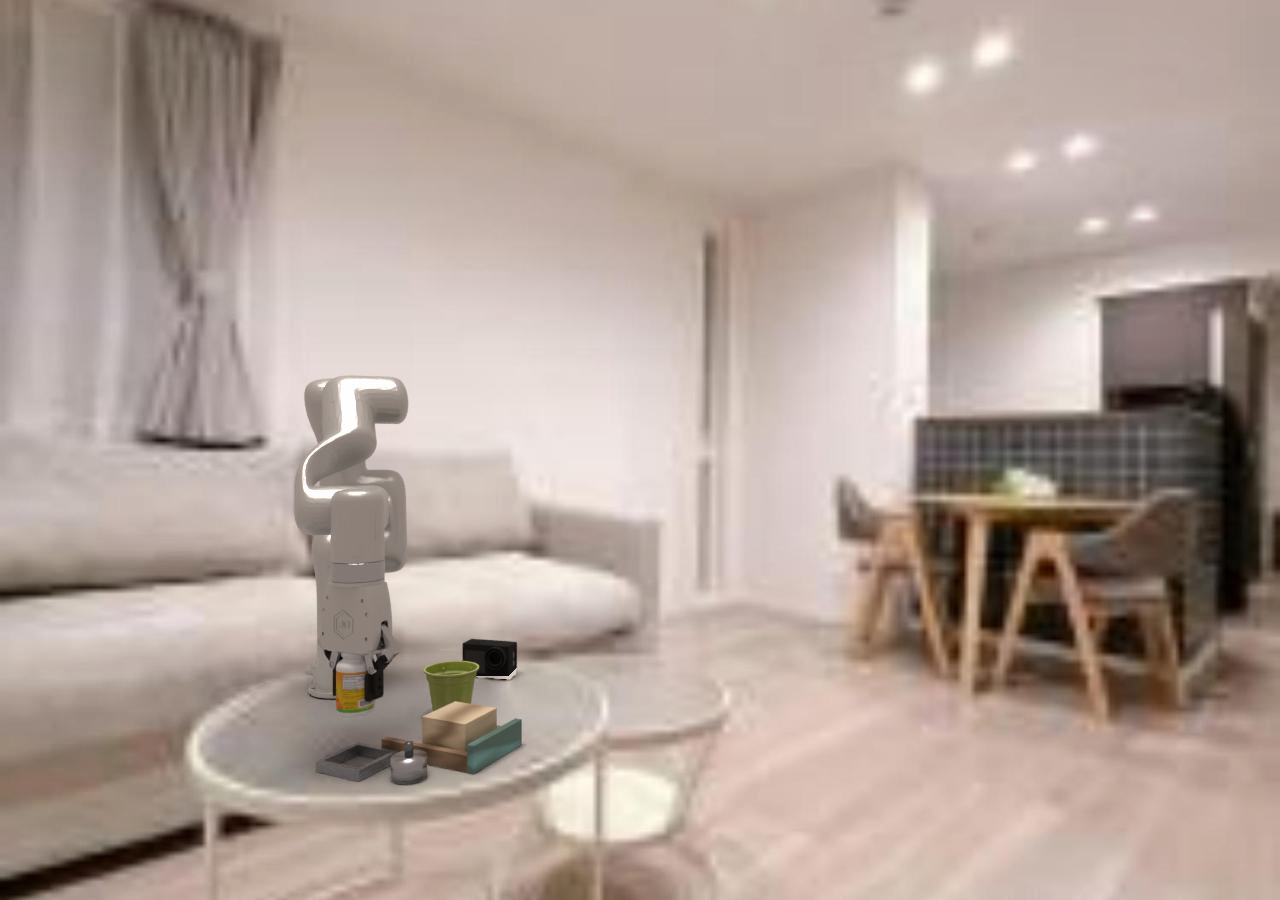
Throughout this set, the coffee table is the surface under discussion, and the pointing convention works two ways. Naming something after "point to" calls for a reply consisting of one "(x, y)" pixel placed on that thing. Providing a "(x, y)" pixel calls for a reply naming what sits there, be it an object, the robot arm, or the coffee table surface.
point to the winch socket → (377, 763)
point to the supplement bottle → (352, 686)
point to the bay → (463, 737)
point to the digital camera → (491, 656)
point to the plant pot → (450, 682)
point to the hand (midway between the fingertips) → (358, 695)
